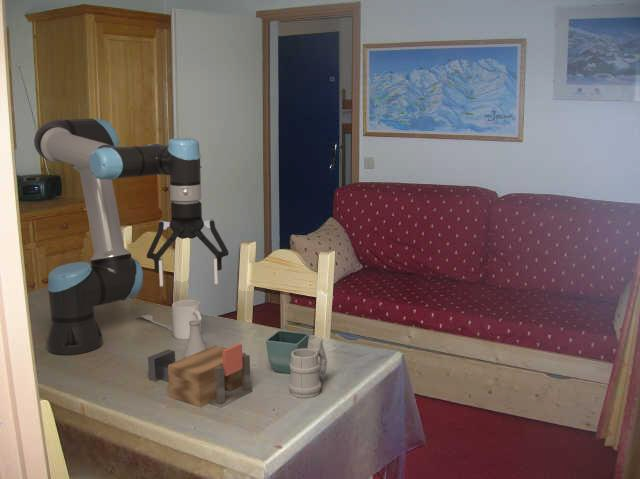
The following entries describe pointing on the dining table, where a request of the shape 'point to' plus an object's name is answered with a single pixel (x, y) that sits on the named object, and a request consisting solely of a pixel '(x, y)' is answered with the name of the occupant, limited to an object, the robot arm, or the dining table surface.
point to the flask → (194, 339)
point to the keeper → (232, 359)
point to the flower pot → (284, 348)
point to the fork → (156, 322)
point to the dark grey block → (160, 365)
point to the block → (208, 379)
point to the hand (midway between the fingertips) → (189, 283)
